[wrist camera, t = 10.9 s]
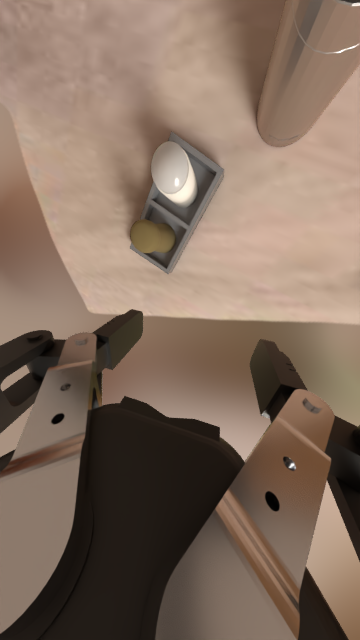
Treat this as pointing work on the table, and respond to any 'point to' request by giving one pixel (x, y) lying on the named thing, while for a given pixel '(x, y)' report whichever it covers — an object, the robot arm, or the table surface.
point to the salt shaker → (174, 174)
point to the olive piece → (152, 236)
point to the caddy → (181, 218)
